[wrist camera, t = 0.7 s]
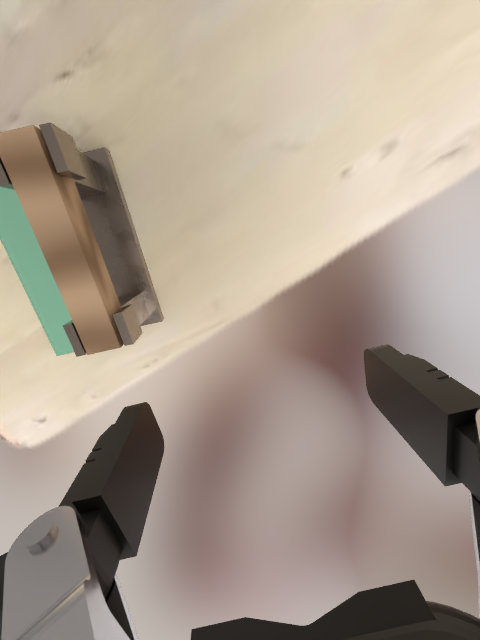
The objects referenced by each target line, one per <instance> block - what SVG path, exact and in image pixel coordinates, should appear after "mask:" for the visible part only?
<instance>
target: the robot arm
mask: <svg viewBox="0 0 480 640" xmlns="http://www.w3.org/2000/svg"><path fill="white" fill-rule="evenodd" d="M364 363H365V375H366V386H367V390H368V394H369V396H370V398H371V400H372V402H373V403H374V404H375V405H376V407H377V408H378V409H379V410H380V411H381V413H382V414H383V415H384V416H385V417H386V418H387V420H388V421H389V422H390V423H391V424H392V425H393V426H394V428H395V429H396V430H397V431H398V432H399V433H400V435H401V436H402V437H403V438H404V439H405V440H406V441H407V443H409V445H410V446H411V447H412V448H413V450H414V451H415V452H416V453H417V454H418V455H419V457H420V458H421V459H422V460H423V461H424V462H425V464H426V465H427V466H428V467H429V468H430V469H431V470H432V472H433V473H434V474H435V475H436V476H437V477H438V479H439V480H440V481H441V482H442V483H443V484H444V486H449V485H453V484H458V483H463V484H464V485H465V486H466V487H467V488H468V489H469V490H470V495H469V497H470V498H469V501H470V510H471V519H472V528H473V537H474V546H475V554H476V564H477V572H478V591H479V592H478V595H479V596H478V598H479V599H478V602H479V619H478V618H476V617H474V616H472V615H470V614H468V613H465V612H463V611H461V610H458V609H456V608H453V607H450V606H446V605H443V604H439V603H435V602H429V601H425V599H424V597H423V595H422V593H421V592H420V590H419V588H418V586H417V584H416V582H415V580H410V581H406V582H402V583H397V584H392V585H389V586H383V587H379V588H375V589H370V590H366V591H361V592H358V593H357V594H355V595H354V596H352V597H351V598H349V599H348V600H346V601H345V602H343V603H342V604H340V605H339V606H337V607H336V608H334V609H333V610H331V611H330V612H328V613H327V614H325V615H324V616H322V617H321V618H319V619H318V620H316V621H315V622H313V623H311V624H309V625H306V626H298V625H292V624H285V623H279V622H272V621H266V620H259V619H253V618H246V617H245V618H241V619H236V620H232V621H227V622H223V623H218V624H214V625H209V626H205V627H201V628H196V629H192V632H191V640H480V396H479V395H478V394H476V393H475V392H473V391H472V390H470V389H469V388H467V387H465V386H464V385H462V384H461V383H459V382H458V381H456V380H455V379H453V378H452V377H450V378H449V376H448V375H447V374H446V373H444V372H442V371H441V370H438V369H437V368H436V367H435V366H433V365H432V364H430V363H428V362H427V361H426V360H424V359H420V358H418V357H415V356H412V355H409V354H406V355H403V354H401V353H400V352H399V351H397V350H396V349H394V348H393V347H391V346H390V345H388V344H386V345H382V346H378V347H373V348H369V349H366V350H365V351H364ZM163 453H164V439H163V435H162V433H161V430H160V428H159V426H158V424H157V421H156V419H155V416H154V414H153V412H152V409H151V407H150V405H149V404H148V403H147V402H144V403H140V404H136V405H132V406H127V407H125V408H124V409H123V410H122V412H121V414H120V416H119V417H118V419H117V421H116V423H115V424H113V425H111V426H110V427H109V428H108V429H107V430H106V431H105V432H104V433H103V434H102V435H101V436H100V437H99V439H98V441H97V443H96V444H95V446H94V448H93V449H92V452H91V453H90V455H89V456H88V458H87V460H86V464H84V465H83V466H82V468H81V470H80V472H79V473H78V475H77V477H76V478H75V480H74V482H73V483H72V485H71V487H70V488H69V490H68V492H67V493H66V495H65V497H64V499H63V500H62V502H61V504H60V505H59V507H56V508H54V509H52V510H50V511H48V512H46V513H44V514H43V515H41V516H40V517H38V518H37V519H36V520H34V521H33V522H32V523H31V524H30V525H29V526H28V527H27V528H26V529H25V530H24V531H23V532H22V533H21V534H20V535H19V536H18V538H17V539H16V540H15V542H14V543H13V545H12V546H11V548H10V550H9V552H7V553H5V554H3V555H1V556H0V640H139V638H138V635H137V632H136V629H135V626H134V623H133V620H132V617H131V615H130V611H129V608H128V606H127V602H126V599H125V596H124V594H123V590H122V588H121V584H120V581H119V579H118V577H117V575H116V574H115V573H116V570H117V567H118V564H119V560H121V559H126V558H130V557H135V556H137V552H138V548H139V544H140V540H141V537H142V533H143V529H144V525H145V522H146V517H147V514H148V510H149V506H150V503H151V499H152V495H153V491H154V487H155V484H156V479H157V476H158V472H159V468H160V464H161V461H162V457H163Z"/></svg>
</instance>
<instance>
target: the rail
mask: <svg viewBox="0 0 480 640" xmlns="http://www.w3.org/2000/svg"><path fill="white" fill-rule="evenodd" d="M0 157H1V160H2V162H3V164H4V167H5V169H6V171H7V173H8V176H9V178H10V180H11V182H12V185H13V187H14V189H15V191H16V194H17V196H18V198H19V201H20V203H21V205H22V207H23V210H24V212H25V214H26V216H27V219H28V221H29V223H30V225H31V228H32V230H33V232H34V235H35V237H36V239H37V241H38V244H39V246H40V248H41V250H42V253H43V255H44V257H45V259H46V262H47V264H48V266H49V269H50V271H51V273H52V275H53V278H54V280H55V282H56V284H57V287H58V289H59V291H60V293H61V296H62V298H63V300H64V303H65V305H66V307H67V309H68V312H69V314H70V316H71V318H72V321H73V323H74V325H75V327H76V330H77V332H78V334H79V337H80V339H81V341H82V343H83V346H84V348H85V350H86V352H87V355H89V354H94V353H98V352H103V351H107V350H112V349H116V348H120V347H121V346H122V345H123V344H124V343H123V340H122V338H121V335H120V332H119V330H118V327H117V325H116V322H115V320H114V317H113V314H114V313H115V312H116V311H118V310H119V309H121V305H120V302H119V300H118V297H117V294H116V292H115V289H114V286H113V284H112V281H111V278H110V276H109V273H108V270H107V268H106V265H105V262H104V260H103V257H102V254H101V252H100V249H99V246H98V243H97V241H96V238H95V235H94V233H93V230H92V227H91V225H90V222H89V219H88V217H87V214H86V211H85V209H84V206H83V203H82V201H81V198H80V195H79V193H78V190H77V187H76V185H75V182H74V179H73V178H70V177H67V176H65V175H62V174H59V173H58V172H57V170H56V167H55V165H54V162H53V159H52V157H51V154H50V152H49V149H48V147H47V144H46V141H45V139H44V136H43V134H42V131H41V129H39V128H37V127H36V126H34V125H31V126H27V127H23V128H18V129H14V130H10V131H5V132H1V133H0Z"/></svg>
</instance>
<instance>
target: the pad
mask: <svg viewBox="0 0 480 640" xmlns="http://www.w3.org/2000/svg"><path fill="white" fill-rule="evenodd" d="M0 239H1V241H2V243H3V245H4V248H5V250H6V252H7V254H8V256H9V258H10V260H11V262H12V264H13V266H14V268H15V270H16V272H17V274H18V277H19V279H20V281H21V283H22V285H23V287H24V289H25V291H26V293H27V295H28V297H29V299H30V301H31V303H32V306H33V308H34V310H35V312H36V314H37V316H38V318H39V320H40V322H41V324H42V326H43V328H44V330H45V332H46V335H47V337H48V339H49V341H50V343H51V345H52V347H53V349H54V351H55V353H56V355H57V356H59V355H63V354H68V353H72V352H74V350H73V347H72V345H71V343H70V341H69V339H68V336H67V334H66V332H65V330H64V328H63V325H65V324H66V323H68V322H70V321H72V318H71V316H70V314H69V312H68V309H67V307H66V305H65V303H64V300H63V298H62V296H61V293H60V291H59V289H58V287H57V284H56V282H55V280H54V278H53V275H52V273H51V271H50V269H49V266H48V264H47V262H46V259H45V257H44V255H43V253H42V250H41V248H40V246H39V244H38V241H37V239H36V237H35V235H34V232H33V230H32V228H31V225H30V223H29V221H28V219H27V216H26V214H25V212H24V210H23V207H22V205H21V203H20V201H19V198H18V196H17V194H16V191H15V190H13V189H8V188H3V187H0Z"/></svg>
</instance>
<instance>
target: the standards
mask: <svg viewBox="0 0 480 640" xmlns="http://www.w3.org/2000/svg"><path fill="white" fill-rule="evenodd" d="M39 126H40V129H41V131H42V134H43V136H44V139H45V141H46V144H47V147H48V149H49V152H50V154H51V157H52V159H53V162H54V165H55V167H56V170H57V172H58V173H59V174H62V175H65V176H67V177H70V178H73V179H74V182H75V185H76V187H77V190H78V193H79V195H80V198H81V201H82V203H83V206H84V209H85V211H86V214H87V217H88V219H89V222H90V225H91V227H92V230H93V233H94V235H95V238H96V241H97V243H98V246H99V249H100V252H101V254H102V257H103V260H104V262H105V265H106V268H107V270H108V273H109V276H110V278H111V281H112V284H113V286H114V289H115V292H116V294H117V297H118V300H119V302H120V305H121V309H119V310H118V311H116V312H115V313H114V314H113V317H114V320H115V322H116V325H117V327H118V330H119V332H120V335H121V338H122V340H123V343H124V345H125V346H126V345H131V344H134V343H135V341H136V340H137V339H138V338H139V336H140V335H141V334H142V330H141V327H140V326H143V325H148V324H152V323H157V322H161V321H163V319H164V318H163V315H162V312H161V309H160V306H159V303H158V300H157V297H156V294H155V291H154V288H153V284H152V281H151V278H150V275H149V272H148V269H147V266H146V263H145V260H144V257H143V254H142V251H141V248H140V244H139V241H138V238H137V235H136V232H135V229H134V226H133V223H132V220H131V217H130V214H129V211H128V207H127V204H126V201H125V198H124V195H123V192H122V189H121V186H120V183H119V180H118V177H117V174H116V171H115V167H114V164H113V161H112V158H111V155H110V152H109V150H108V149H106V148H101V149H97V150H93V151H88V152H84V153H81V152H79V151H77V148H76V146H75V143H74V140H73V137H72V136H70V135H69V134H67V133H66V132H64V131H63V130H61V129H60V128H58V127H56V126H55V125H53V124H52V123H47V124H42V125H39ZM0 187H3V188H8V189H13V190H15V189H14V187H13V185H12V182H11V180H10V178H9V176H8V173H7V171H6V169H5V167H4V164H3V162H2V160H1V157H0ZM63 328H64V330H65V332H66V334H67V336H68V339H69V341H70V343H71V345H72V347H73V350H74V352H75V354H76V356H82V355H86V354H87V352H86V350H85V348H84V346H83V343H82V341H81V339H80V337H79V334H78V332H77V330H76V327H75V325H74V323H73V321H70V322H68V323H66V324H65V325H63Z"/></svg>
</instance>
